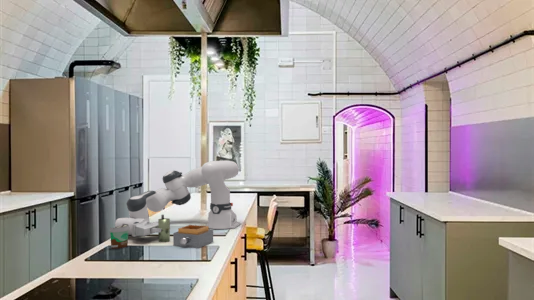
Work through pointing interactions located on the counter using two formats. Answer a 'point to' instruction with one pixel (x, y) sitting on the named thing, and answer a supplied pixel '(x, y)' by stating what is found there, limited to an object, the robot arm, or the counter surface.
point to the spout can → (164, 229)
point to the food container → (119, 236)
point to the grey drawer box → (193, 236)
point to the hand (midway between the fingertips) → (165, 229)
